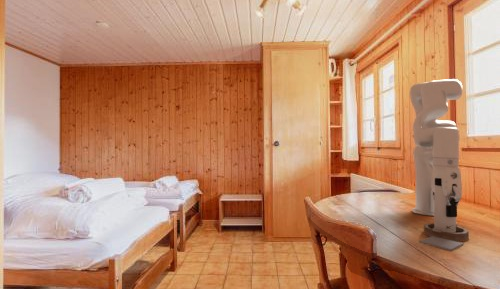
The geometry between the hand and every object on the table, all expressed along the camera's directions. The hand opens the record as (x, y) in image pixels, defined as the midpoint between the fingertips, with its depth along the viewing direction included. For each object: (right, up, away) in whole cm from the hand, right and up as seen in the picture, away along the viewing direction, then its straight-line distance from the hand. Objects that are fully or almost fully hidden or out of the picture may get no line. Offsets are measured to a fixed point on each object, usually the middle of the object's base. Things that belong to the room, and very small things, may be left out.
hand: (445, 213), depth 101 cm
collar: (0, -7, 0) cm, 7 cm away
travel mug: (0, -7, 0) cm, 7 cm away
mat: (-8, -7, -9) cm, 14 cm away
